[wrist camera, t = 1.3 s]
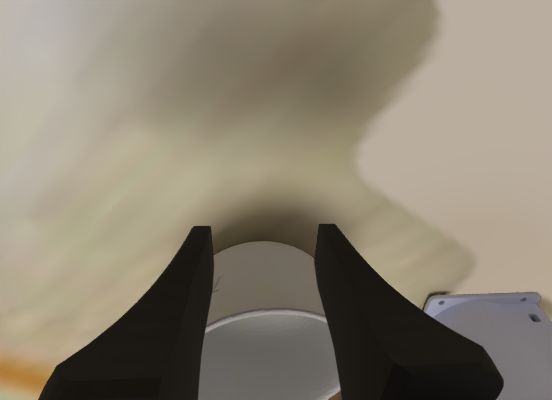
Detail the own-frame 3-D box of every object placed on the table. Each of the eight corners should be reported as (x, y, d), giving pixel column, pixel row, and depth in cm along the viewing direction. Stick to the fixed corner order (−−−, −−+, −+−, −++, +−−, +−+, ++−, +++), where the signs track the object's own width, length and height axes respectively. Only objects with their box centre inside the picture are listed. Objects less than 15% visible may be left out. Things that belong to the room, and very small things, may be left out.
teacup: (192, 208, 23) (170, 310, 16) (352, 226, 25) (391, 326, 18) (181, 339, 30) (164, 446, 24) (304, 346, 32) (319, 447, 26)
